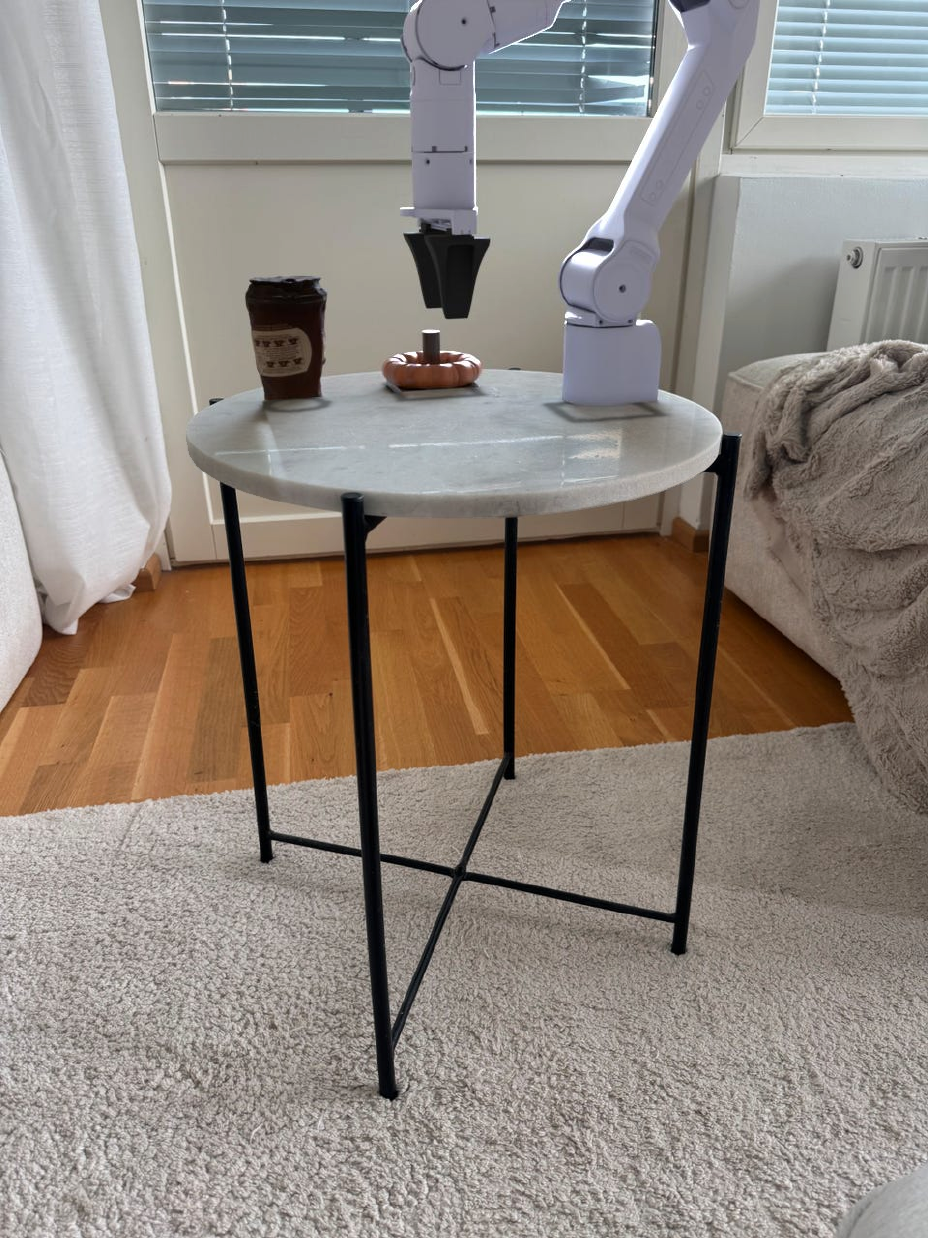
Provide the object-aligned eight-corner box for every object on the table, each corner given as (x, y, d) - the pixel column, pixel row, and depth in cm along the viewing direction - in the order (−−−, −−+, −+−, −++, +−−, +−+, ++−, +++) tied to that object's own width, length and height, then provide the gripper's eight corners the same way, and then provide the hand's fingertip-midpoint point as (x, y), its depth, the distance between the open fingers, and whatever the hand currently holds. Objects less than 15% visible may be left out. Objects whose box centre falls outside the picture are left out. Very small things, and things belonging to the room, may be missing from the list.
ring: (467, 369, 111) (467, 347, 110) (492, 387, 101) (492, 363, 100) (375, 374, 108) (374, 351, 107) (392, 394, 99) (391, 369, 98)
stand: (459, 379, 110) (459, 323, 107) (480, 395, 102) (480, 335, 100) (386, 384, 108) (383, 327, 105) (402, 400, 100) (399, 339, 98)
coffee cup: (317, 415, 94) (307, 281, 89) (242, 412, 96) (227, 280, 90) (344, 397, 102) (336, 273, 96) (274, 394, 104) (262, 272, 98)
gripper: (383, 154, 87) (390, 305, 93) (417, 151, 74) (422, 325, 80) (455, 154, 88) (457, 302, 94) (500, 151, 76) (499, 321, 82)
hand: (446, 312), depth 87 cm, fingers open, 7 cm apart
